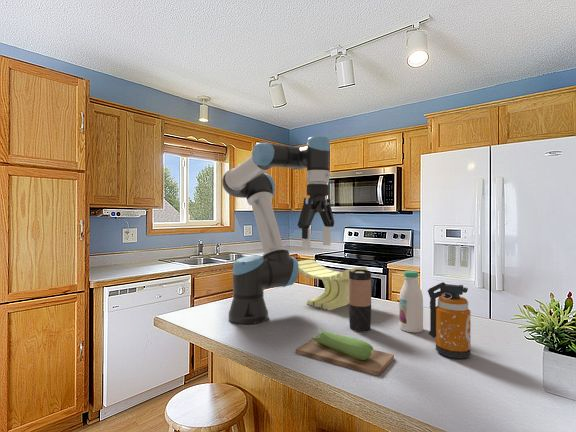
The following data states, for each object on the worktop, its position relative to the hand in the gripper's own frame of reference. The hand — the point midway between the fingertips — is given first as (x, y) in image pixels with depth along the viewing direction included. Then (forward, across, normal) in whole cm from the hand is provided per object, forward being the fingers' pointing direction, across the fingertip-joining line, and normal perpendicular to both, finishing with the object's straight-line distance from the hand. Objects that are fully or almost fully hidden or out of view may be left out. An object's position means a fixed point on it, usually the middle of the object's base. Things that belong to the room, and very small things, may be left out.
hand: (316, 247), depth 113 cm
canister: (+28, +7, -40) cm, 50 cm away
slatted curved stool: (+30, +34, +13) cm, 47 cm away
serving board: (+28, -12, -16) cm, 35 cm away
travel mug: (+29, +12, -11) cm, 33 cm away
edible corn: (+27, -12, -16) cm, 34 cm away
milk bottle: (+29, +21, -26) cm, 44 cm away
